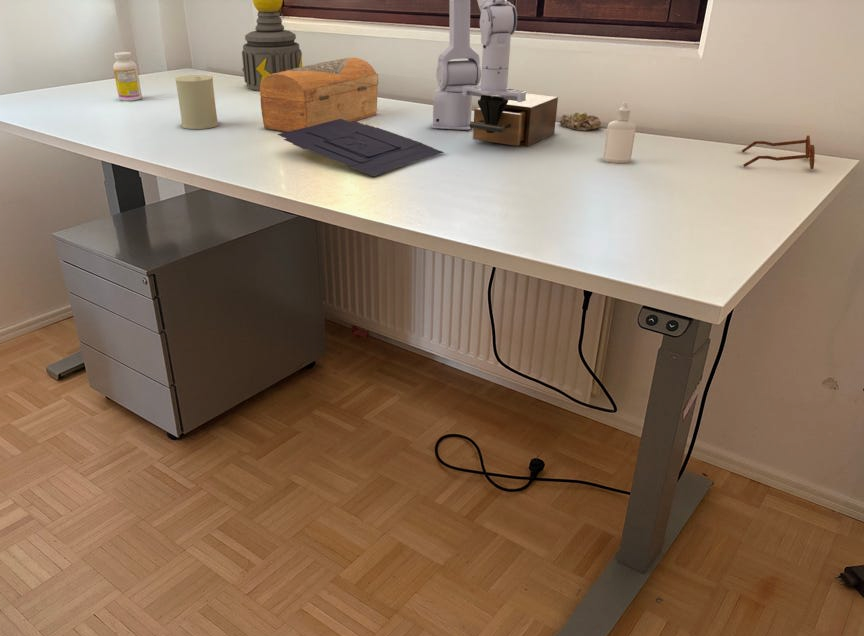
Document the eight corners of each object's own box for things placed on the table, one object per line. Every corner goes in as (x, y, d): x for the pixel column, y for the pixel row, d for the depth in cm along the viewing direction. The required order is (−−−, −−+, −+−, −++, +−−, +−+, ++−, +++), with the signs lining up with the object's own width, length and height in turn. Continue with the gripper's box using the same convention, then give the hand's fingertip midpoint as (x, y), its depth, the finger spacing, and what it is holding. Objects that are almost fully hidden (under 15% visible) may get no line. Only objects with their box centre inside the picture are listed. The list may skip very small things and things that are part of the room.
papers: (345, 128, 180) (346, 113, 178) (443, 164, 165) (446, 148, 163) (270, 148, 164) (270, 131, 162) (371, 189, 149) (373, 172, 147)
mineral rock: (608, 116, 185) (596, 112, 178) (605, 134, 186) (592, 131, 180) (568, 112, 191) (555, 109, 184) (565, 130, 192) (552, 127, 186)
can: (192, 131, 185) (186, 80, 179) (175, 125, 191) (168, 75, 185) (225, 125, 190) (219, 75, 184) (207, 119, 196) (201, 71, 190)
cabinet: (527, 146, 169) (531, 107, 165) (478, 139, 175) (481, 101, 171) (554, 134, 179) (558, 96, 175) (507, 127, 186) (510, 91, 181)
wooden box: (332, 107, 208) (330, 54, 201) (380, 114, 200) (379, 59, 193) (257, 128, 187) (252, 69, 180) (307, 136, 179) (304, 75, 172)
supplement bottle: (125, 96, 225) (117, 51, 218) (145, 97, 224) (138, 51, 217) (115, 101, 219) (106, 54, 213) (136, 101, 218) (128, 54, 212)
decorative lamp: (236, 91, 231) (225, -17, 216) (255, 81, 247) (246, -20, 232) (294, 92, 228) (287, -17, 213) (310, 82, 244) (304, -20, 229)
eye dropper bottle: (623, 165, 155) (633, 105, 149) (599, 160, 158) (607, 102, 152) (633, 161, 157) (643, 102, 151) (609, 156, 161) (617, 99, 155)
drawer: (507, 150, 162) (509, 118, 159) (461, 143, 168) (463, 112, 165) (543, 134, 175) (546, 104, 172) (500, 128, 181) (502, 99, 178)
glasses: (813, 173, 149) (820, 148, 146) (742, 167, 153) (748, 142, 150) (806, 157, 159) (813, 133, 157) (740, 152, 163) (745, 128, 161)
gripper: (456, 66, 160) (453, 131, 167) (517, 72, 153) (512, 139, 159) (472, 62, 165) (469, 125, 172) (532, 68, 158) (526, 133, 164)
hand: (491, 132), depth 166 cm, fingers closed, pressing on drawer
